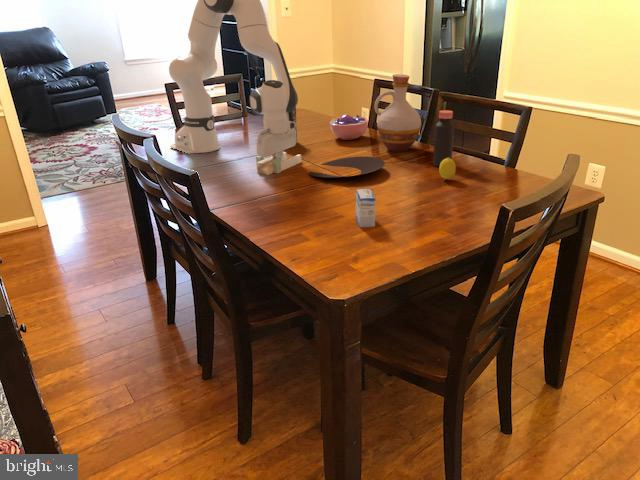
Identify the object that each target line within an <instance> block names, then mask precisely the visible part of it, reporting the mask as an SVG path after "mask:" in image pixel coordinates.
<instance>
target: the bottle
mask: <svg viewBox="0 0 640 480" xmlns="http://www.w3.org/2000/svg"><path fill="white" fill-rule="evenodd" d="M453 115H454V111H453V110H449V109H448V110H444V109H443V110H439V112H438V119H439V121H438V122H437V123H435V125H434V126H435V129H434V130H435V131H434V140H433V141H434V145H433V159H432V166H434V165H435V166H434V167H437V166H440V163H441V162H442V161H443V160H444V159H446V158H450V159H452V160H453V147H454V134H455V124H454V123H453V122H452V120H453Z"/></svg>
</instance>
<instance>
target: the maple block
mask: <svg viewBox="0 0 640 480" xmlns="http://www.w3.org/2000/svg"><path fill="white" fill-rule="evenodd" d="M273 159H275V158H272V156H268V158H267V157H266V158H265V159H264V160H262V161H259V162H257V163H256V172H257V174H260V175H265V176H269V175H271V174H275V173H274V170H273Z"/></svg>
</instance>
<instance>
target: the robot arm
mask: <svg viewBox="0 0 640 480" xmlns="http://www.w3.org/2000/svg"><path fill="white" fill-rule="evenodd" d="M226 15H228V16H231V15H232V16H233V17H234V19H235V21H236V28H237V32H238V33H237V34H238V35H237V36H238V38H239V40H238V41H239V43H240V45H241V47H242V48H243V49H244V50H245V51H246V52H248V53H249V54H251V55H254V56H256V57H260V58H262V59H264V60H266V61H268V62H269V63H270V64H271V66H272V68H273V70H274V74H275V78H276V80H275V79H270V80H269V79H268V80H265V81H264V82H262V85H261V86H259V87H258V88H256V89H253V90H252V91H251V92H250V95H249V97H248V98H249V106H250V110H251V111H252V112H253V113H255V114H257V115H263V117H262V119H263V130H261V131H259V134H258V135H257V139H256V155H257V156H260V157H264V158H267V157H273V158H278V159H281V161H282V156H283V153H284V152H285V150H287V149H290V148H293V147H295V146H296V144H297V143H296V130H295V127H296V123H295V122H291V121H288V120H287V115H286V112H291V111H293V109H294V108H295V107H296V108H297V105H298V102H299V97H298V94H297V91H296V89H295V87H294V84H293V83H292V78H291V75H290V73H289V69H288V67H287V62H286V59H285V57H284V53H283V51H282V49H281V47H280V44H279V43H278V42H276V41H275V40H274V39H273V37H272V35H271V34H270V31H269V28H268V22H267V17H266V13H265V9H264V7H263V4H262V2H261V0H197V2H196V4H195V7H194V10H193V14H192V17H191V20H190V21H191V22H190V25H189V29H188V33H187V37H188V40H189V41H190V51H189V52H188V54H184V55H180V56H178V57H176V58H175V59H173V60H172V61H171V62H170V64H169V67H168V72H169V76H170V78H171V79H172V81H173V82H175V83H176V84H177V85H178V88H179V89H180V92H181V95H182V97H183V103H184V110H185V117H182V118H181V119H182V120H181V121H182V122H183V123H184V124H183V126H182V127H181V128H180V129H179V130H178V131H177V132H176V133H175V135H174V143H173V144H171V145H170V146H169V148H170V147H171V148H174V149H177V150H179V151H178V152H180V151H182V152H181V153H184V152H185V153H184V154H187V153H188V155H189V154H199V153H200V154H201V153H203V154H204V153H210V152H214V151H217V150H219V149H221V146H220V144H221V143H220V141H219V139H218V138H219V137H218V133H217V129H216V127H215V123H216V120H215V115H214V113H213V104H212V97H211V94H209V93H208V92H207V90H206V89H205V86H204V85H205V84H204V83H203V82H204V81H207V80H209V79H210V78H211V77H213V76H214V75H215V74H216V72H218V71H217V70H218V63H217V59H216V45H217V41H218V38H219V33H220V30H221V26H222V22H223V20H224V17H225V16H226ZM171 148H170V149H171ZM174 149H173V150H174ZM177 150H176V151H177Z"/></svg>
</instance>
